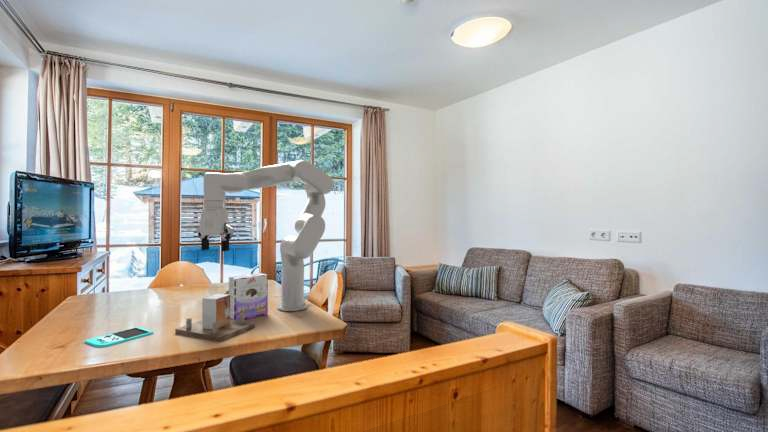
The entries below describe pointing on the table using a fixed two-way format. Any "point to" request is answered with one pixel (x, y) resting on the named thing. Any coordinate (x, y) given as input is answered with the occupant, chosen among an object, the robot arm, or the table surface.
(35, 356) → the table surface
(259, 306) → the candy box
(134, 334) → the handheld game console
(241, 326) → the peg board
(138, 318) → the table surface
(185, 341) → the table surface
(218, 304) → the small box
